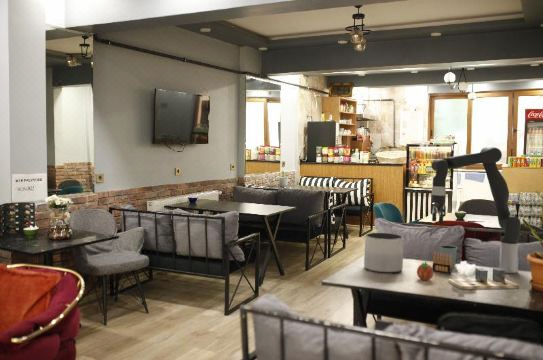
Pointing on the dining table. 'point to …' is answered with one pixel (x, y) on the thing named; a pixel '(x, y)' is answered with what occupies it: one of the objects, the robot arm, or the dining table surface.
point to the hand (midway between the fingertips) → (437, 222)
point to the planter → (383, 252)
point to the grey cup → (449, 250)
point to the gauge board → (494, 283)
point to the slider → (481, 275)
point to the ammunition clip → (441, 263)
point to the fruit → (425, 271)
